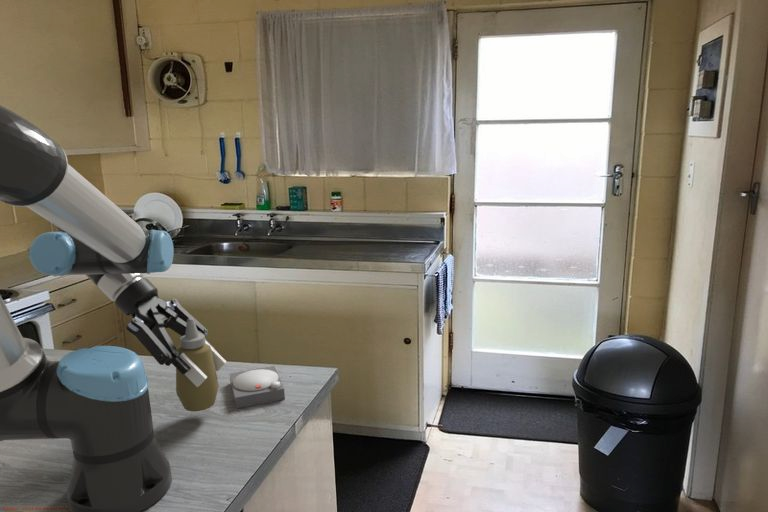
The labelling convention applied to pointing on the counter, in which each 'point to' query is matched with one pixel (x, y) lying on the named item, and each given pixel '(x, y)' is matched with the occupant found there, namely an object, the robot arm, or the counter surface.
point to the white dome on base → (256, 386)
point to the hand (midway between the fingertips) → (212, 374)
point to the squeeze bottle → (203, 359)
